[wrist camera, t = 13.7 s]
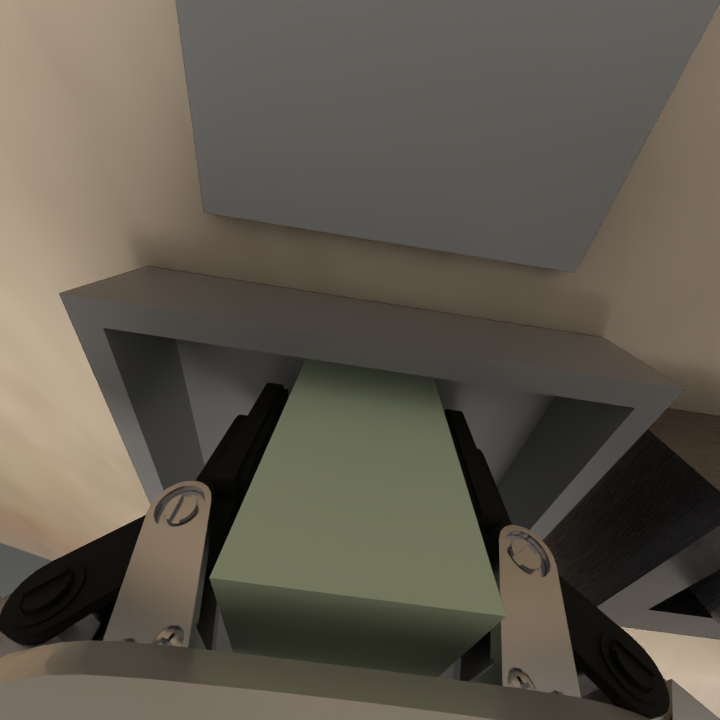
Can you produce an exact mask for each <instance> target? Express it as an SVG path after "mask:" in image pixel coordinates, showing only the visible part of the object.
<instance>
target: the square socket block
mask: <svg viewBox="0 0 720 720" xmlns="http://www.w3.org/2000/svg"><path fill="white" fill-rule="evenodd" d="M542 541H543V542H544V543H545V545H546V546H547V547H548V548H549V550H550V552H551V553H552V555H553V557H554V560H555V563H556V566H557V571H558V574H559V575H560V576H561V577H562V578H563V579H564V580H566V581H567V582H568V583H569V584H570V585H571V586H573V587H574V588H575V589H576V590H577V591H578V592H580V593H581V594H582V595H583V596H584V597H585V598H587V599H588V600H589V601H590V602H591V603H593V604H594V605H595V606H596V607H597V608H598V609H600V610H601V611H602V612H603V613H604V614H605V615H607V616H608V617H609V618H610V619H611V620H612V621H614V622H615V623H616V624H617V625H618V626H619V627H627V628H635V629H642V630H650V631H658V632H665V633H673V634H681V635H688V636H696V637H704V638H711V639H719V640H720V626H719V625H718V623H717V622H716V621H715V620H714V618H713V617H712V616H711V614H710V613H709V612H708V611H707V609H706V608H705V607H704V606H703V604H702V603H701V602H700V601H699V599H698V598H697V597H696V596H695V594H694V593H693V592H692V591H691V589H690V588H689V586H691V585H693V584H694V583H696V582H698V581H700V580H701V579H703V578H705V577H707V576H709V575H710V574H712V573H714V572H716V571H717V570H719V569H720V416H713V415H706V414H700V413H693V412H687V411H680V410H673V409H666V410H665V411H664V412H663V413H662V414H661V415H660V416H659V417H658V419H657V420H656V421H655V422H654V423H653V424H652V425H651V426H650V427H649V428H648V429H647V430H646V431H645V432H644V433H643V434H642V435H641V437H640V438H639V439H638V440H637V441H636V442H635V443H634V444H633V445H632V446H631V447H630V448H629V449H628V450H627V451H626V452H625V454H624V455H623V456H622V457H621V458H620V459H619V460H618V461H617V462H616V463H615V464H614V465H613V466H612V467H611V468H610V469H609V470H608V472H607V473H606V474H605V475H604V476H603V477H602V478H601V479H600V480H599V481H598V482H597V483H596V484H595V485H594V486H593V487H592V488H591V490H590V491H589V492H588V493H587V494H586V495H585V496H584V497H583V498H582V499H581V500H580V501H579V502H578V503H577V504H576V505H575V506H574V508H573V509H572V510H571V511H570V512H569V513H568V514H567V515H566V516H565V517H564V518H563V519H562V520H561V521H560V522H559V523H558V525H557V526H556V527H555V528H554V529H553V530H552V531H551V532H550V533H549V534H548V535H547V536H546V537H545V538H544V539H543V540H542Z"/></svg>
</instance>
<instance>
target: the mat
mask: <svg viewBox="0 0 720 720" xmlns="http://www.w3.org/2000/svg"><path fill="white" fill-rule="evenodd" d="M719 3H720V0H176V7H177V14H178V22H179V29H180V37H181V44H182V52H183V59H184V67H185V74H186V82H187V89H188V97H189V104H190V112H191V119H192V126H193V134H194V141H195V149H196V156H197V164H198V171H199V179H200V186H201V194H202V201H203V209H204V213H208V214H214V215H221V216H227V217H233V218H239V219H245V220H251V221H258V222H264V223H270V224H276V225H282V226H288V227H295V228H301V229H307V230H313V231H319V232H325V233H332V234H338V235H344V236H350V237H356V238H362V239H369V240H375V241H381V242H387V243H393V244H399V245H406V246H412V247H418V248H424V249H430V250H436V251H443V252H449V253H455V254H461V255H467V256H473V257H479V258H486V259H492V260H498V261H504V262H510V263H516V264H523V265H529V266H535V267H541V268H547V269H553V270H560V271H566V272H572V273H575V271H576V270H577V268H578V266H579V264H580V262H581V260H582V258H583V257H584V255H585V253H586V251H587V249H588V247H589V245H590V244H591V242H592V240H593V238H594V236H595V234H596V232H597V230H598V229H599V227H600V225H601V223H602V221H603V219H604V217H605V216H606V214H607V212H608V210H609V208H610V206H611V204H612V203H613V201H614V199H615V197H616V195H617V193H618V191H619V189H620V188H621V186H622V184H623V182H624V180H625V178H626V176H627V175H628V173H629V171H630V169H631V167H632V165H633V163H634V162H635V160H636V158H637V156H638V154H639V152H640V150H641V148H642V147H643V145H644V143H645V141H646V139H647V137H648V135H649V134H650V132H651V130H652V128H653V126H654V124H655V122H656V121H657V119H658V117H659V115H660V113H661V111H662V109H663V107H664V106H665V104H666V102H667V100H668V98H669V96H670V94H671V93H672V91H673V89H674V87H675V85H676V83H677V81H678V80H679V78H680V76H681V74H682V72H683V70H684V68H685V66H686V65H687V63H688V61H689V59H690V57H691V55H692V53H693V52H694V50H695V48H696V46H697V44H698V42H699V40H700V39H701V37H702V35H703V33H704V31H705V29H706V27H707V25H708V24H709V22H710V20H711V18H712V16H713V14H714V12H715V11H716V9H717V7H718V5H719Z"/></svg>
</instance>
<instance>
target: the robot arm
mask: <svg viewBox="0 0 720 720" xmlns="http://www.w3.org/2000/svg"><path fill="white" fill-rule="evenodd" d="M287 400H288V389H284V386H283V385H282V384H275V383H267V384H266V385H265V387H264V389H263V390H262V392H261V394H260V395H259V397H258V399H257V400H256V402H255V404H254V406H253V407H252V409H251V411H250V412H249V414H248V416H247V415H240V414H239V415H238V416H237V417H236V418H235V419H234V421H233V422H232V424H231V426H230V427H229V429H228V430H227V432H226V433H225V435H224V437H223V438H222V440H221V441H220V443H219V444H218V446H217V447H216V449H215V451H214V452H213V454H212V455H211V457H210V458H209V460H208V462H207V463H206V465H205V466H204V468H203V469H202V471H201V473H200V474H199V476H198V477H197V479H196V480H195V481H184V482H180V483H177V484H175V485H173V486H171V487H169V488H167V489H166V490H164V491H163V492H162V493H160V494H159V495H158V496H157V497H156V498H155V499H154V501H153V502H152V503H151V505H150V507H149V509H148V511H147V513H146V515H145V516H143V517H141V518H139V519H137V520H135V521H133V522H131V523H129V524H127V525H125V526H123V527H121V528H119V529H117V530H115V531H113V532H111V533H109V534H107V535H105V536H103V537H100V538H98V539H96V540H94V541H92V542H90V543H88V544H86V545H84V546H82V547H80V548H78V549H76V550H74V551H72V552H70V553H68V554H66V555H64V556H62V557H60V558H58V559H56V560H54V561H52V562H50V563H49V564H47V565H45V566H43V567H42V568H40V569H38V570H37V571H36V572H34V573H33V574H32V575H30V576H29V577H28V578H27V579H26V580H24V581H23V582H22V583H21V584H20V585H19V586H18V587H17V589H16V590H15V591H14V592H13V593H11V594H9V595H7V596H5V597H3V598H2V597H1V596H0V720H720V719H719V718H718V717H717V716H716V715H714V714H713V713H712V712H711V711H710V710H708V709H707V708H706V707H705V706H704V705H702V704H701V703H700V702H699V701H698V700H696V699H695V698H694V697H693V696H692V695H690V694H689V693H688V692H687V691H686V690H684V689H683V688H682V687H681V686H680V685H678V684H677V683H676V682H675V681H674V680H672V679H670V680H668V681H666V680H665V679H664V678H663V676H662V675H661V673H660V671H659V670H658V668H657V666H656V664H655V663H654V661H653V660H652V659H651V657H650V656H649V655H648V654H647V652H646V651H645V650H644V649H643V648H642V647H641V646H640V645H639V644H638V643H637V642H636V641H635V640H634V639H633V638H632V637H631V636H630V635H629V634H628V633H626V632H625V631H624V630H623V629H622V628H621V627H619V626H618V625H617V624H616V623H615V622H614V621H612V620H611V619H610V618H609V617H608V616H607V615H605V614H604V613H603V612H602V611H601V610H600V609H598V608H597V607H596V606H595V605H594V604H593V603H591V602H590V601H589V600H588V599H587V598H585V597H584V596H583V595H582V594H581V593H580V592H578V591H577V590H576V589H575V588H574V587H573V586H571V585H570V584H569V583H568V582H567V581H566V580H564V579H563V578H562V577H561V576H560V575H559V574H558V571H557V566H556V563H555V560H554V557H553V555H552V553H551V552H550V550H549V548H548V547H547V546H546V545H545V543H544V542H543V541H542V540H541V539H540V538H539V537H538V536H537V535H535V534H534V533H533V532H531V531H530V530H528V529H526V528H524V527H521V526H518V525H512V523H511V520H510V518H509V515H508V513H507V511H506V508H505V506H504V503H503V501H502V498H501V496H500V493H499V491H498V488H497V486H496V484H495V481H494V479H493V476H492V474H491V471H490V469H489V466H488V464H487V461H486V459H485V456H484V454H483V453H482V451H481V450H480V449H477V447H476V445H475V442H474V440H473V437H472V434H471V432H470V429H469V427H468V424H467V422H466V419H465V417H464V414H463V412H462V411H458V410H451V409H446V410H445V411H444V413H445V417H446V420H447V423H448V427H449V430H450V433H451V437H452V440H453V443H454V446H455V450H456V453H457V456H458V460H459V463H460V466H461V469H462V473H463V476H464V479H465V483H466V486H467V489H468V492H469V496H470V499H471V502H472V506H473V509H474V512H475V515H476V519H477V522H478V525H479V529H480V532H481V535H482V538H483V542H484V545H485V548H486V552H487V555H488V558H489V562H490V565H491V568H492V571H493V575H494V578H495V581H496V585H497V588H498V591H499V594H500V598H501V601H502V604H503V608H504V611H505V614H506V617H505V618H504V619H502V620H501V621H500V622H499V623H498V624H497V625H496V626H495V627H494V628H492V629H491V630H490V631H489V632H488V633H487V634H486V635H485V636H483V637H482V638H481V639H480V640H479V641H478V642H477V643H476V644H474V645H473V646H472V647H471V648H470V649H469V650H468V651H467V652H465V653H464V654H463V655H462V656H461V657H460V658H459V659H458V660H457V661H455V662H454V673H453V680H452V679H444V678H436V677H429V676H421V675H413V674H405V673H397V672H389V671H380V670H372V669H364V668H356V667H348V666H340V665H332V664H323V663H315V662H307V661H299V660H291V659H282V658H274V657H265V656H257V655H248V654H240V653H231V652H223V651H216V641H217V631H218V620H219V606H218V603H217V600H216V597H215V594H214V591H213V588H212V584H211V581H210V578H209V577H210V575H211V573H212V571H213V568H214V566H215V564H216V562H217V559H218V557H219V555H220V553H221V550H222V548H223V546H224V543H225V541H226V539H227V537H228V534H229V532H230V530H231V528H232V525H233V523H234V521H235V518H236V516H237V514H238V512H239V509H240V507H241V505H242V503H243V500H244V498H245V496H246V493H247V491H248V489H249V487H250V484H251V482H252V480H253V478H254V475H255V473H256V471H257V469H258V466H259V464H260V462H261V459H262V457H263V455H264V453H265V450H266V448H267V446H268V444H269V441H270V439H271V437H272V434H273V432H274V430H275V428H276V425H277V423H278V421H279V419H280V416H281V414H282V412H283V410H284V407H285V405H286V403H287Z"/></svg>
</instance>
